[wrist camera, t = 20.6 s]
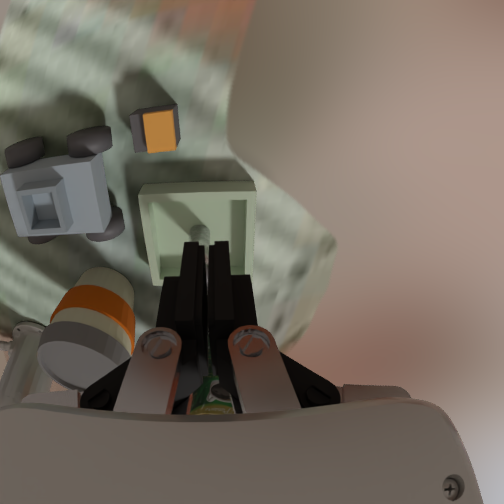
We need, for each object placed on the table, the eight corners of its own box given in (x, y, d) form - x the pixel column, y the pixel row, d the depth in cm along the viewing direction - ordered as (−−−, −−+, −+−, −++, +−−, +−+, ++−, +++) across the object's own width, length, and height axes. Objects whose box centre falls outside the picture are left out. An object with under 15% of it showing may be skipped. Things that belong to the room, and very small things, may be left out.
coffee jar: (182, 355, 55) (179, 451, 39) (194, 328, 51) (192, 434, 35) (233, 365, 57) (240, 457, 42) (249, 340, 53) (262, 440, 38)
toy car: (38, 224, 37) (10, 261, 30) (18, 140, 30) (-20, 166, 23) (128, 219, 38) (111, 259, 31) (116, 124, 31) (89, 145, 24)
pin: (186, 246, 41) (182, 294, 33) (184, 221, 38) (178, 267, 31) (214, 244, 41) (216, 293, 34) (213, 220, 39) (214, 266, 32)
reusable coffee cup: (117, 244, 40) (85, 330, 28) (160, 308, 47) (149, 392, 35) (54, 271, 41) (16, 348, 29) (98, 325, 49) (78, 401, 36)
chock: (142, 143, 33) (132, 155, 29) (137, 109, 31) (127, 117, 27) (180, 138, 33) (175, 150, 30) (177, 103, 31) (171, 110, 27)
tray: (156, 271, 43) (153, 285, 41) (143, 184, 36) (137, 194, 33) (250, 269, 44) (252, 283, 42) (253, 180, 37) (256, 191, 35)
